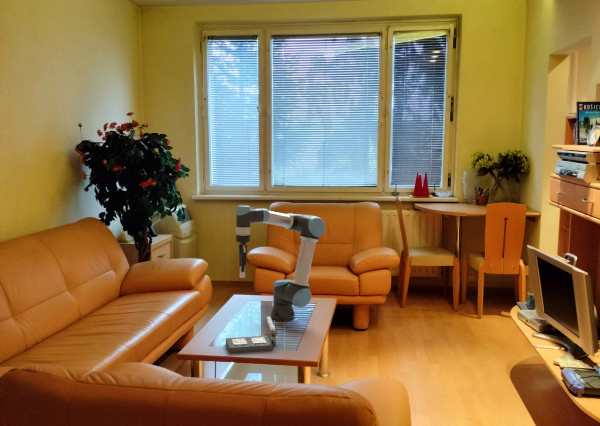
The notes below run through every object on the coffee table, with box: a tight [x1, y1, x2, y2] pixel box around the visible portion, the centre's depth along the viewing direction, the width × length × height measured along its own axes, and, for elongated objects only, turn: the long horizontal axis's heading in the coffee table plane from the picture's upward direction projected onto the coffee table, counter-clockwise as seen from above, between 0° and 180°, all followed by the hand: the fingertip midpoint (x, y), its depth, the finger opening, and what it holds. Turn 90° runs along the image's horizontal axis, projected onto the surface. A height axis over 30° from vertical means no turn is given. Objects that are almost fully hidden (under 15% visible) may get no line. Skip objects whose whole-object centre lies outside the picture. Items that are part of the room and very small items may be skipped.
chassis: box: [225, 335, 277, 354], centre depth 277 cm, size 25×14×5 cm, turn 105°
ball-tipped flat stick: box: [266, 315, 278, 337], centre depth 291 cm, size 26×3×3 cm, turn 10°
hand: (242, 277), depth 291 cm, fingers closed
